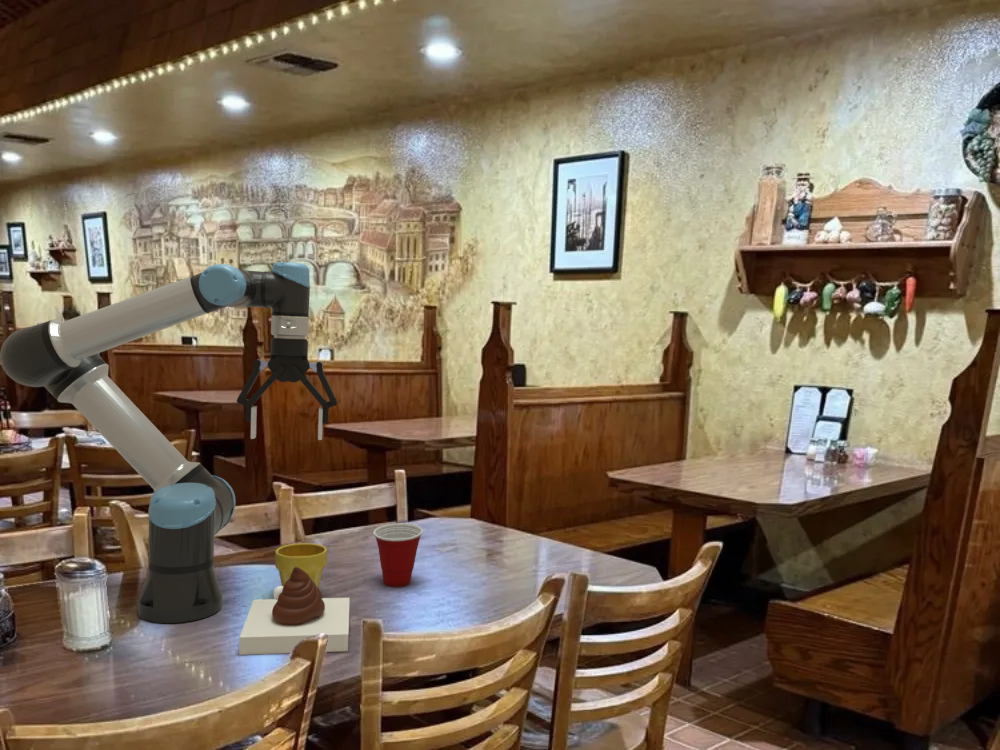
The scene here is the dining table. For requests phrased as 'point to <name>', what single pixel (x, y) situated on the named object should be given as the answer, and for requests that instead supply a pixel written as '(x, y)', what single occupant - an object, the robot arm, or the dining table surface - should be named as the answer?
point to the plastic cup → (397, 551)
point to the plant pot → (301, 560)
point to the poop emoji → (297, 600)
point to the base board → (293, 628)
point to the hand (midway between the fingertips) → (286, 438)
